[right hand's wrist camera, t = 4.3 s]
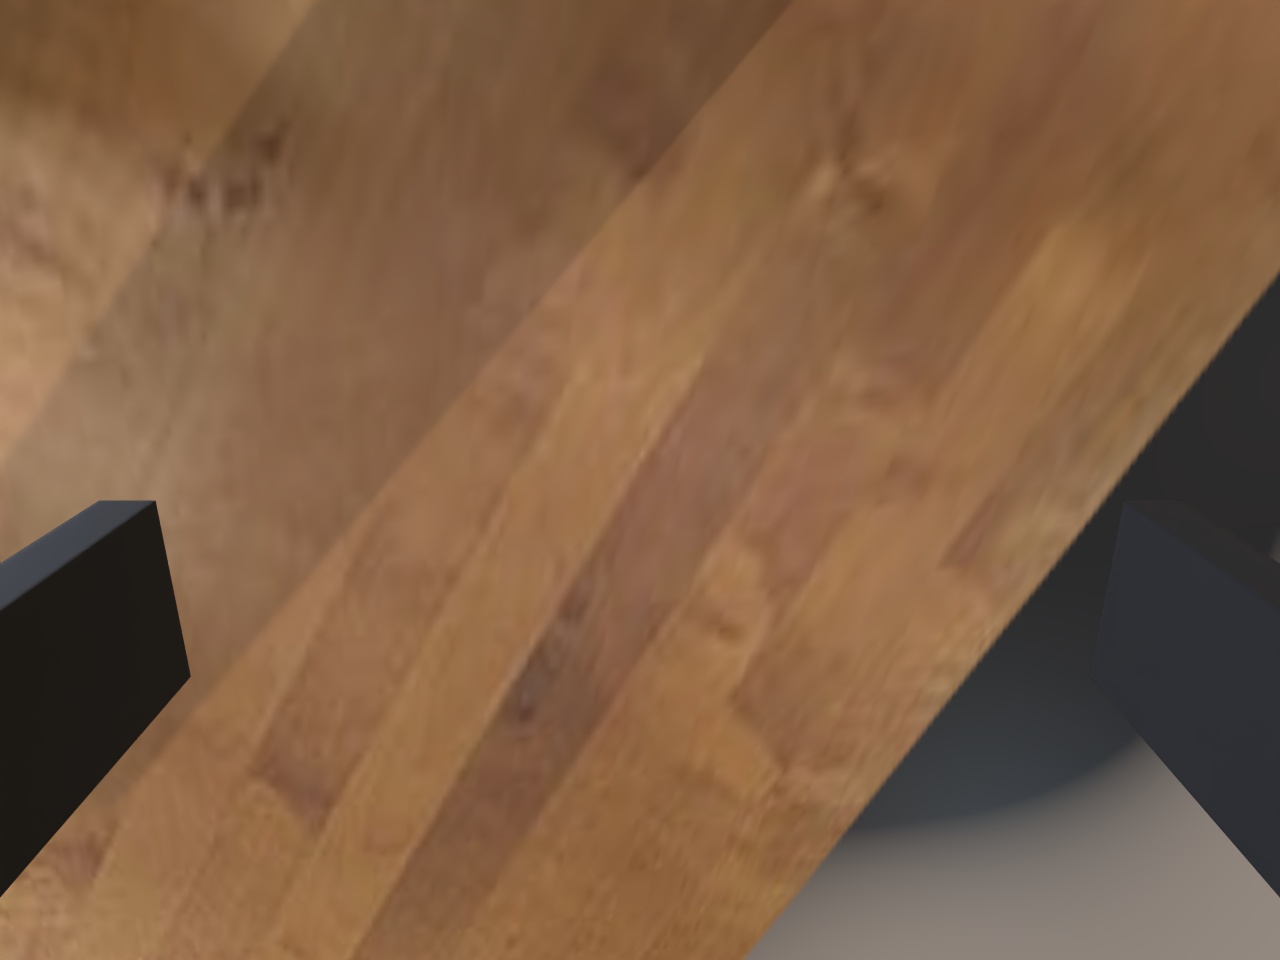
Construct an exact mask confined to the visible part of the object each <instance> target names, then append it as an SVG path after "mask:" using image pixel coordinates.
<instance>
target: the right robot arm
mask: <svg viewBox="0 0 1280 960" xmlns="http://www.w3.org/2000/svg"><path fill="white" fill-rule="evenodd" d="M190 677H191V675H190V670H189V665H188V660H187V655H186V650H185V645H184V640H183V635H182V630H181V625H180V620H179V615H178V610H177V605H176V600H175V595H174V590H173V585H172V580H171V575H170V570H169V565H168V560H167V555H166V550H165V546H164V541H163V536H162V531H161V526H160V521H159V516H158V511H157V506H156V501H98V502H96V503H95V504H93V505H91V506H90V507H88V508H87V509H85V510H84V511H82V512H80V513H79V514H77V515H76V516H74V517H73V518H71V519H69V520H68V521H66V522H65V523H63V524H62V525H60V526H58V527H57V528H55V529H54V530H52V531H51V532H49V533H47V534H46V535H44V536H43V537H41V538H40V539H38V540H37V541H35V542H33V543H32V544H30V545H29V546H27V547H26V548H24V549H22V550H21V551H19V552H18V553H16V554H15V555H13V556H11V557H10V558H8V559H7V560H5V561H4V562H2V563H0V897H1V896H2V895H3V894H4V892H5V891H6V890H7V889H8V888H9V887H10V885H11V884H12V883H13V882H14V881H15V880H16V878H17V877H18V876H19V875H20V874H21V873H22V872H23V870H24V869H25V868H26V867H27V866H28V865H29V863H30V862H31V861H32V860H33V859H34V858H35V856H36V855H37V854H38V853H39V852H40V851H41V849H42V848H43V847H44V846H45V845H46V844H47V843H48V841H49V840H50V839H51V838H52V837H53V836H54V834H55V833H56V832H57V831H58V830H59V829H60V827H61V826H62V825H63V824H64V823H65V822H66V821H67V819H68V818H69V817H70V816H71V815H72V814H73V812H74V811H75V810H76V809H77V808H78V807H79V805H80V804H81V803H82V802H83V801H84V800H85V798H86V797H87V796H88V795H89V794H90V793H91V792H92V790H93V789H94V788H95V787H96V786H97V785H98V783H99V782H100V781H101V780H102V779H103V778H104V776H105V775H106V774H107V773H108V772H109V771H110V769H111V768H112V767H113V766H114V765H115V764H116V763H117V761H118V760H119V759H120V758H121V757H122V756H123V754H124V753H125V752H126V751H127V750H128V749H129V747H130V746H131V745H132V744H133V743H134V742H135V741H136V739H137V738H138V737H139V736H140V735H141V734H142V732H143V731H144V730H145V729H146V728H147V727H148V725H149V724H150V723H151V722H152V721H153V720H154V718H155V717H156V716H157V715H158V714H159V713H160V712H161V710H162V709H163V708H164V707H165V706H166V705H167V703H168V702H169V701H170V700H171V699H172V698H173V696H174V695H175V694H176V693H177V692H178V691H179V690H180V688H181V687H182V686H183V685H184V684H185V683H186V681H187V680H188V679H189V678H190ZM1089 677H1090V678H1091V679H1092V680H1093V681H1094V683H1095V684H1096V685H1097V686H1098V687H1099V688H1100V690H1101V691H1102V692H1103V693H1104V694H1105V695H1106V696H1107V698H1108V699H1109V700H1110V701H1111V702H1112V703H1113V705H1114V706H1115V707H1116V708H1117V709H1118V710H1119V712H1120V713H1121V714H1122V715H1123V716H1124V717H1125V718H1126V720H1127V721H1128V722H1129V723H1130V724H1131V725H1132V727H1133V728H1134V729H1135V730H1136V731H1137V732H1138V734H1139V735H1140V736H1141V737H1142V738H1143V739H1144V740H1145V742H1146V743H1147V744H1148V745H1149V746H1150V747H1151V749H1152V750H1153V751H1154V752H1155V753H1156V754H1157V756H1158V757H1159V758H1160V759H1161V760H1162V761H1163V763H1164V764H1165V765H1166V766H1167V767H1168V768H1169V769H1170V771H1171V772H1172V773H1173V774H1174V775H1175V776H1176V778H1177V779H1178V780H1179V781H1180V782H1181V783H1182V785H1183V786H1184V787H1185V788H1186V789H1187V790H1188V792H1189V793H1190V794H1191V795H1192V796H1193V797H1194V798H1195V800H1196V801H1197V802H1198V803H1199V804H1200V805H1201V807H1202V808H1203V809H1204V810H1205V811H1206V812H1207V813H1208V815H1209V816H1210V817H1211V818H1212V819H1213V820H1214V822H1215V823H1216V824H1217V825H1218V826H1219V827H1220V829H1221V830H1222V831H1223V832H1224V833H1225V834H1226V836H1227V837H1228V838H1229V839H1230V840H1231V841H1232V843H1233V844H1234V845H1235V846H1236V847H1237V848H1238V849H1239V851H1240V852H1241V853H1242V854H1243V855H1244V856H1245V858H1246V859H1247V860H1248V861H1249V862H1250V863H1251V865H1252V866H1253V867H1254V868H1255V869H1256V870H1257V872H1258V873H1259V874H1260V875H1261V876H1262V877H1263V878H1264V880H1265V881H1266V882H1267V883H1268V884H1269V885H1270V887H1271V888H1272V889H1273V890H1274V891H1275V892H1276V894H1277V895H1278V896H1279V897H1280V563H1278V562H1276V561H1275V560H1273V559H1272V558H1270V557H1269V556H1267V555H1265V554H1264V553H1262V552H1261V551H1259V550H1258V549H1256V548H1254V547H1253V546H1251V545H1250V544H1248V543H1247V542H1245V541H1243V540H1242V539H1240V538H1239V537H1237V536H1236V535H1234V534H1232V533H1231V532H1229V531H1228V530H1226V529H1225V528H1223V527H1222V526H1220V525H1218V524H1217V523H1215V522H1214V521H1212V520H1211V519H1209V518H1207V517H1206V516H1204V515H1203V514H1201V513H1200V512H1198V511H1196V510H1195V509H1193V508H1192V507H1190V506H1189V505H1187V504H1185V503H1184V502H1182V501H1124V506H1123V511H1122V516H1121V521H1120V526H1119V531H1118V536H1117V541H1116V546H1115V550H1114V556H1113V560H1112V565H1111V570H1110V575H1109V581H1108V585H1107V590H1106V595H1105V600H1104V606H1103V610H1102V616H1101V621H1100V626H1099V631H1098V635H1097V640H1096V645H1095V650H1094V656H1093V660H1092V665H1091V670H1090V675H1089Z"/></svg>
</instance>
